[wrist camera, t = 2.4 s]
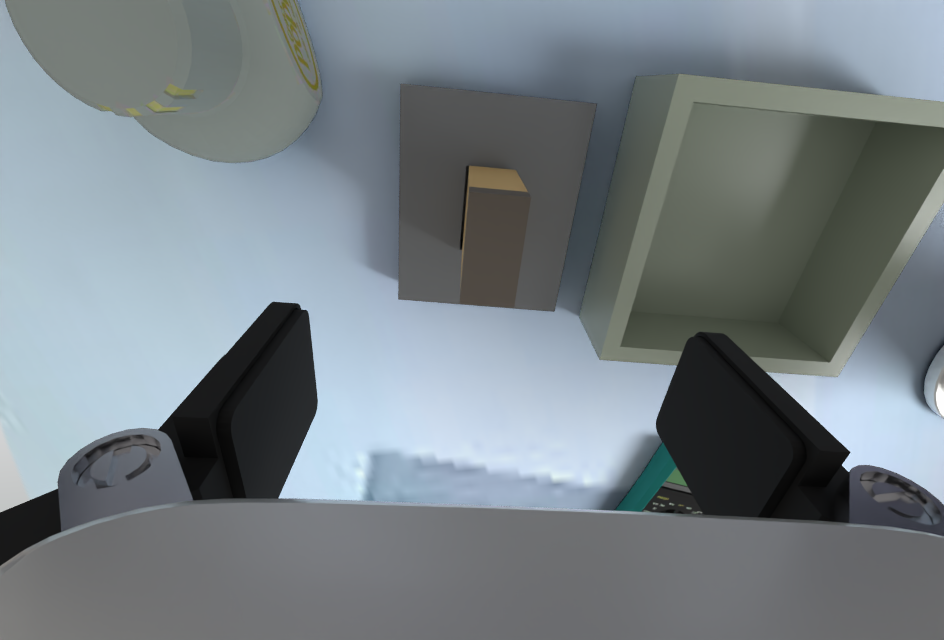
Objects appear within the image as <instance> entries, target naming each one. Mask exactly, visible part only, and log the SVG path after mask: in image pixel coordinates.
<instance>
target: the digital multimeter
mask: <svg viewBox="0 0 944 640" xmlns="http://www.w3.org/2000/svg"><path fill="white" fill-rule="evenodd" d="M644 507H645V508H644ZM615 511H633V512H654V513H675V514H696V515H704V514H703V513H702V511H701V509H700V507H699V506H698V504H697V502H696V500H695V498H694V497H693V495H692V493H691V491H690V490H689V488H688V486H687V484H686V482H685V481H684V479H683V477H682V475H681V474H680V472H679V470H678V468H677V466H676V465H675V463H674V461H673V459H672V458H671V456H670V454H669V452H668V450H667V449H666V447H665V445H664V443H662V444H661V446H660V447H659V449H658V450H657V451H656V453H655V454H654V456H653V457H652V459H651V461H650V462H649V464H648V465H647V467H646V468H645V470H644V471H643V473H642V474H641V476H640V477H639V478H638V480H637V481H636V483H635V484H634V485H633V487H632V488H631V490H630V491H629V492H628V494H627V495H626V497H625V498H624V499H623V501H622V502H621V503H620V504H619V506H618V507H617V508H616V509H615Z"/></svg>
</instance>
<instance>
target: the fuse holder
mask: <svg viewBox="0 0 944 640" xmlns="http://www.w3.org/2000/svg"><path fill="white" fill-rule="evenodd" d="M596 106H597V104H594V103H587V102H577V101H567V100H558V99H548V98H538V97H528V96H519V95H509V94H499V93H489V92H480V91H470V90H460V89H450V88H441V87H431V86H421V85H411V84H401V90H400V191H399V293H398V299H400V300H413V301H426V302H438V303H451V304H460V284H461V261H462V246H463V234H464V222H465V210H466V198H467V186H468V174H469V166H479V167H490V168H500V169H511V170H516V171H517V173H518V175H519V177H520V178H521V180H522V182H523V184H524V186H525V187H526V189H527V191H528V193H529V194H530V196H531V201H530V208H529V214H528V221H527V227H526V234H525V240H524V247H523V253H522V260H521V267H520V273H519V280H518V286H517V293H516V299H515V306H514V308H515V309H528V310H541V311H553V312H554V311H555V306H556V301H557V296H558V292H559V287H560V282H561V277H562V272H563V267H564V262H565V257H566V252H567V248H568V243H569V238H570V233H571V228H572V223H573V218H574V213H575V208H576V204H577V199H578V194H579V189H580V184H581V179H582V174H583V169H584V165H585V160H586V155H587V150H588V145H589V140H590V135H591V130H592V125H593V121H594V116H595V111H596ZM464 305H472V304H464ZM477 306H485V305H477ZM489 307H498V306H489ZM502 308H510V307H502Z"/></svg>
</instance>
